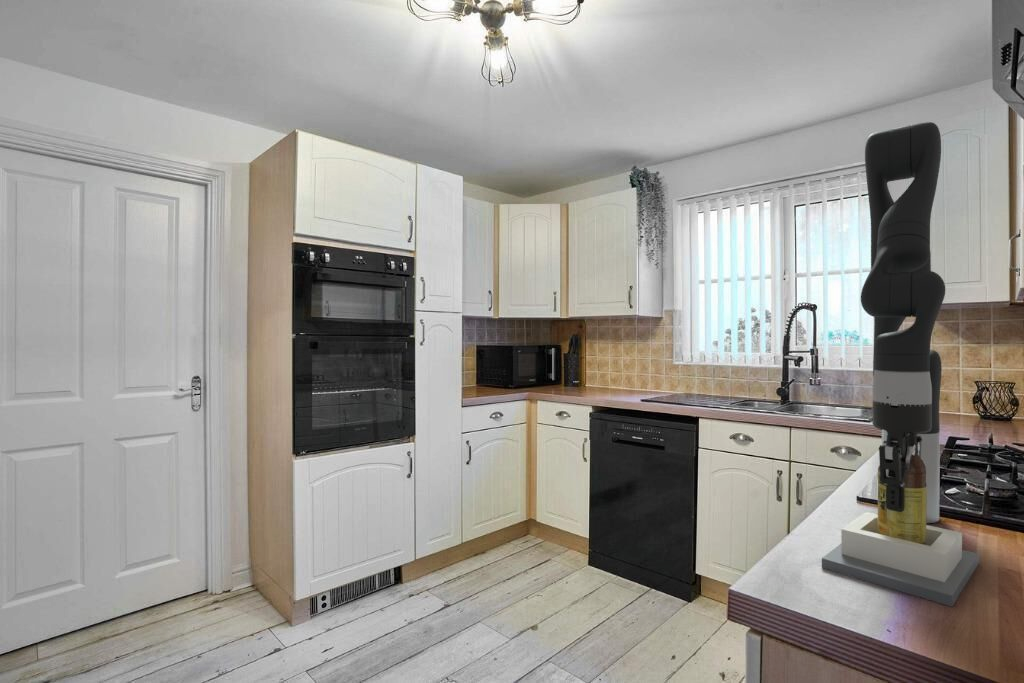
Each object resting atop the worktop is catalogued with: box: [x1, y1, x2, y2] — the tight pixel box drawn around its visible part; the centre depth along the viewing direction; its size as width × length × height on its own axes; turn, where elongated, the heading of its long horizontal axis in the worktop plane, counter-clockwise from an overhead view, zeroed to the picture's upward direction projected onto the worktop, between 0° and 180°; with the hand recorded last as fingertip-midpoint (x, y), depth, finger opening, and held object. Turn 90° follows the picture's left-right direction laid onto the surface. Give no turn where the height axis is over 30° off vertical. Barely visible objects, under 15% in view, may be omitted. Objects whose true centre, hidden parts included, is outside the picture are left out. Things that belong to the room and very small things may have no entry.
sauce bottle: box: [877, 433, 927, 545], centre depth 84 cm, size 6×6×20 cm
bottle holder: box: [821, 511, 980, 607], centre depth 84 cm, size 20×16×6 cm
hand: (901, 505), depth 84 cm, fingers closed on sauce bottle, 6 cm apart
